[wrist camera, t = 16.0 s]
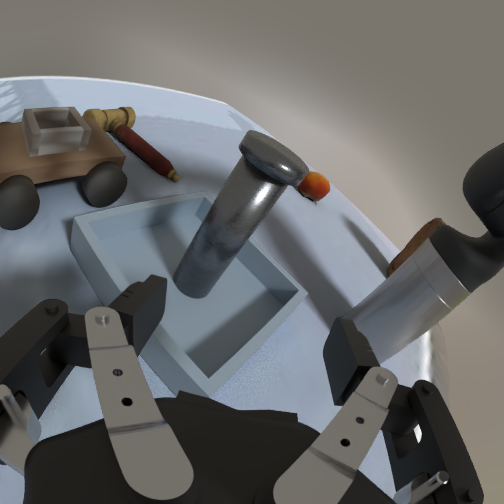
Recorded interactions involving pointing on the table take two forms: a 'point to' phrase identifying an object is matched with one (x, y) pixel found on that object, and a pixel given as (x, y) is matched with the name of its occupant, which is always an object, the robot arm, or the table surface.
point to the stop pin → (237, 211)
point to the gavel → (131, 137)
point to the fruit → (314, 186)
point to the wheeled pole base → (55, 161)
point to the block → (414, 244)
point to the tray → (177, 304)
